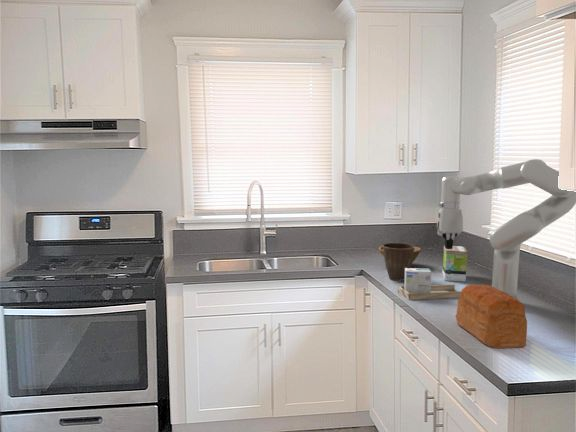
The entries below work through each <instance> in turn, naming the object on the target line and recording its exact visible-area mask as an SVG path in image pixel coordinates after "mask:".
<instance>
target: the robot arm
mask: <svg viewBox="0 0 576 432" xmlns="http://www.w3.org/2000/svg"><path fill="white" fill-rule="evenodd" d="M559 172H560V171H559V170H556V169H555V168H552V167H550V166H548V165H547V163H546V162H545V161H543V160H542V159H539V158H538V159H537V158H536V159H528V160H527V161H523V162H519V163H514V164H510V165H506V166H502V167H499V168H497V169H495V170H492V171H489V172H485V173H482V174H478V175H471V176H464V177H459V176H443V178H442V179H441V194H440V195H441V197H440V198H441V199H440V203H439V202H438V207H440V208H439V210H438V213H437V221H436V230H437V233H436V235H438V236H441V237H442V238H443V240H444V246H445V248H446V249H452V247H453V246H454V240H455V238H456V237H457V236H460V235H462V233H463V231H464V221H463V220H464V218H463V211H462V209H461V208H460V206H461V204H460V203H461V202H460V201H461V195H464V196H470V195H475V194H480V193H484V192H490V191H493V190H497V189H507V188H508V189H510V188H512V187H518V186H521V185H527V184H532V185H533V186H534V187H536V188H539V189H541V190H542V191H544V192H547V193H548V194H550V196H549V197H548V198H547V199H544V201H542V202H541V203H539V204H537V205H536V206H534V207H532V208H530V209H529V210H526V211H523V212H521V213H519V214H518V215H516V216H515V217H513V218H512V219H510V220H508V221H507V222H505V223H503V224H502V225H500V226H499V227H497V228H495V229H494V230H493V231H492V232H491V234H490V236H489V244H490V246H491V247H492V248H493V250H494V252H493V263H492V275H491V276H492V278H491V280H492V281H491V286H492V287H494V288H496V289H498V290H500V291H503V292H505V293H507V294H509V295H510V296H512V297H513V298H515V299H517V300H518V301H519V302H521V300H520V298H518V279H519V266H520V263H519V261H520V253H521V252H520V251H521V246H522V244H523V243H524V242H527V241H528V240H529V239H531V238H533V237H534V236H537V235H538V234H539V233H540V232H542V230H543V229H544V228H546V227H548V226H549V225H551V224H553V223H554V222H556V221H557V220H560V219H561V218H562V217H564V216H565V215H566V214H567V213H569V212H570V211H571V210H572V209H573V208H574V207H575V205H576V192H574V191H567V190H561V189H559V188H558V176H559Z"/></svg>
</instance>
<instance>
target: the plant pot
mask: <svg viewBox="0 0 576 432" xmlns="http://www.w3.org/2000/svg"><path fill="white" fill-rule="evenodd" d="M382 246H383V254H384V256H383V258H384V260H383V261H384V263H385V268H386V272H387V275H388V278H389V279H390V280H392V281H405V268H411V265H412V264H411V261H412V257H413V253H414V247H415V245H413V244H409V243H408V244H407V243H401V242H389V243H384V244H382Z"/></svg>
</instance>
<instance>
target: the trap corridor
mask: <svg viewBox="0 0 576 432" xmlns="http://www.w3.org/2000/svg"><path fill="white" fill-rule="evenodd" d="M455 286H456V285H455V284H433V285H432V284H431V293H409V292H407V291H406V290H404V285H403V286H402V285H401V286H400V285H399V286H397V293H399V294H400V295H401V296H403V297H404V298H405V299H408V300H410V301H411V300H435V299H437V300H438V299H440V300H441V299H459V298H460V294H461V291H459V290H458V291H457V290H456V289H455Z"/></svg>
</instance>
